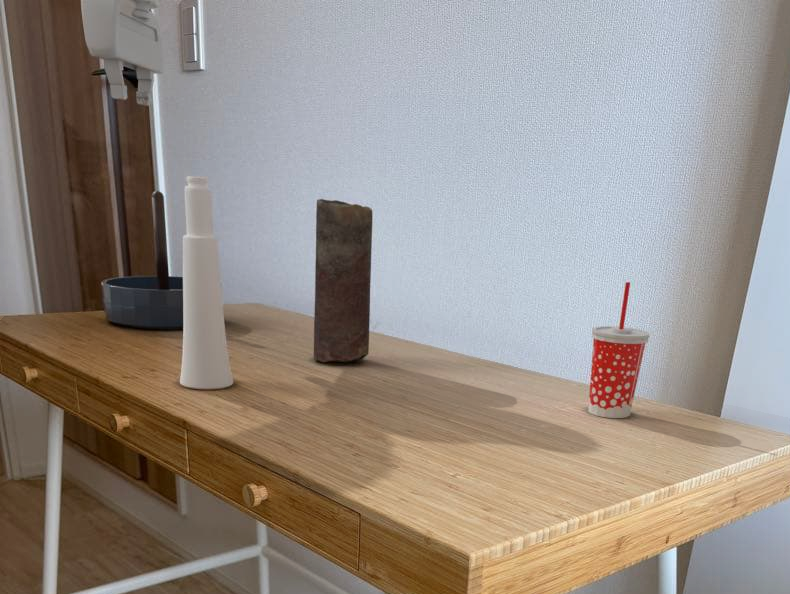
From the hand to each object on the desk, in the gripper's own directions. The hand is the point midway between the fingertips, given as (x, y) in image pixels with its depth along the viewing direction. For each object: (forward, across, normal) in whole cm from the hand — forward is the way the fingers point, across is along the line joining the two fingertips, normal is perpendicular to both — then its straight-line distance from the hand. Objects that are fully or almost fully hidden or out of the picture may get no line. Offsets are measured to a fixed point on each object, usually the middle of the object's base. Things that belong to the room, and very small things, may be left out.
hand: (132, 102), depth 120 cm
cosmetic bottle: (+31, +38, +21) cm, 54 cm away
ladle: (+30, -2, +2) cm, 31 cm away
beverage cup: (+31, +39, +67) cm, 84 cm away
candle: (+31, +20, +34) cm, 50 cm away
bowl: (+31, -2, +2) cm, 31 cm away
